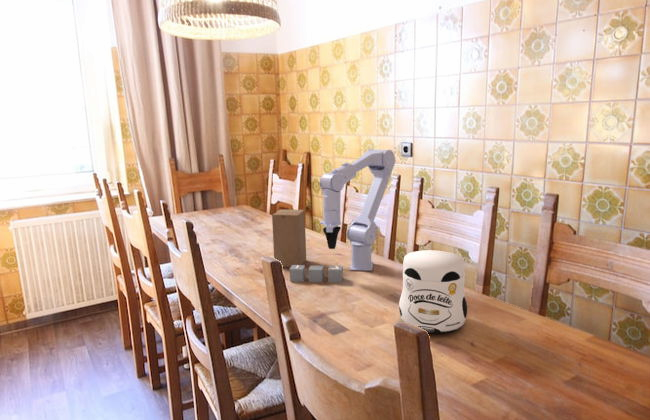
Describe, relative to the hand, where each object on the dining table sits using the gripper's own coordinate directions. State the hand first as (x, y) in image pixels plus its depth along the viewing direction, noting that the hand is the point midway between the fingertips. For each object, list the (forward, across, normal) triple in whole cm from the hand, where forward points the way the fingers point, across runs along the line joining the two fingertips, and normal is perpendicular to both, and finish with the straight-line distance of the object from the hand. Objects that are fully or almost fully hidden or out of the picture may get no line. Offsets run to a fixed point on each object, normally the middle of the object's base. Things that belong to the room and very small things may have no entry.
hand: (332, 248), depth 155 cm
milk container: (+11, +33, +30) cm, 47 cm away
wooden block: (+11, -15, -18) cm, 25 cm away
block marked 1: (+11, +2, -12) cm, 16 cm away
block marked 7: (+11, +2, +2) cm, 11 cm away
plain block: (+11, +2, -5) cm, 12 cm away
